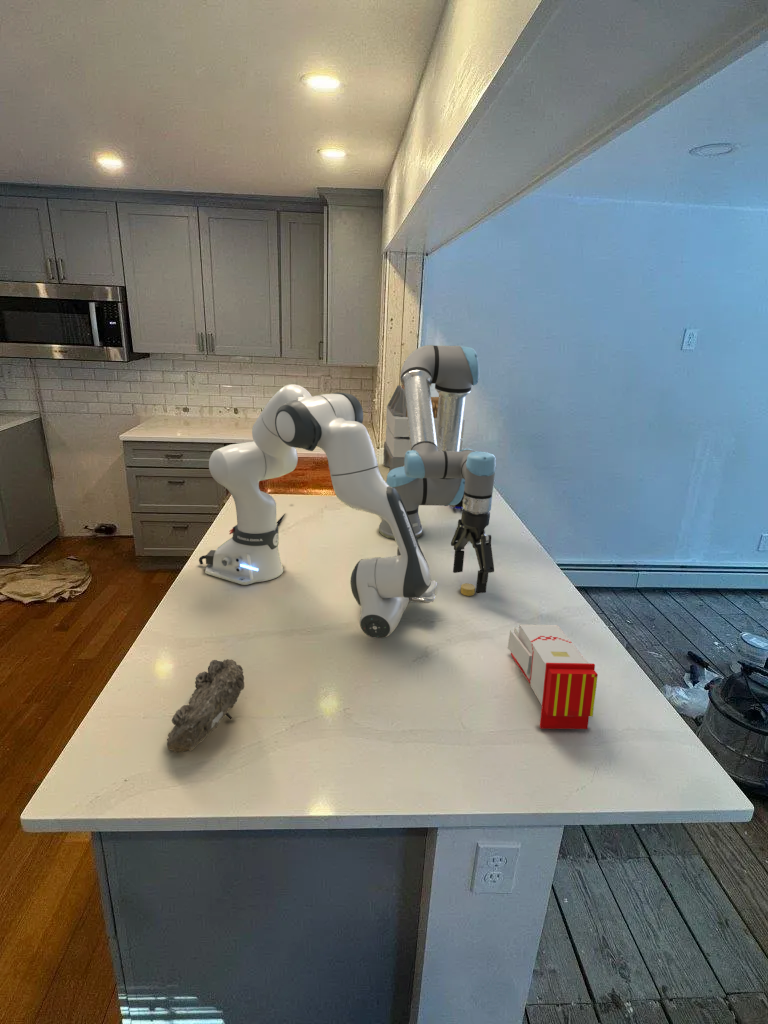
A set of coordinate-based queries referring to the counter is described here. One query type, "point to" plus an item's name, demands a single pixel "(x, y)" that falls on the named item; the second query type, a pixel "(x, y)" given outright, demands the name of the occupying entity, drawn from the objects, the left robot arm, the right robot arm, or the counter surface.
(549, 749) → the counter surface
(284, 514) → the feather
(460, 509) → the figurine character
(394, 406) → the transformer
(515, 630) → the toy
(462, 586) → the cap
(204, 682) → the grey elongated lump
